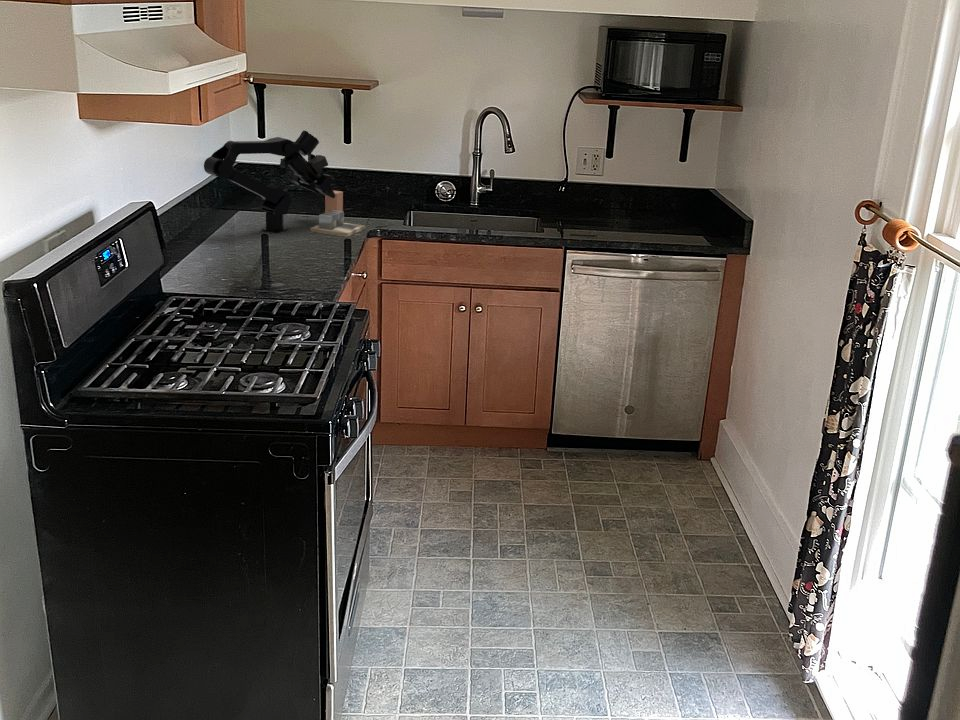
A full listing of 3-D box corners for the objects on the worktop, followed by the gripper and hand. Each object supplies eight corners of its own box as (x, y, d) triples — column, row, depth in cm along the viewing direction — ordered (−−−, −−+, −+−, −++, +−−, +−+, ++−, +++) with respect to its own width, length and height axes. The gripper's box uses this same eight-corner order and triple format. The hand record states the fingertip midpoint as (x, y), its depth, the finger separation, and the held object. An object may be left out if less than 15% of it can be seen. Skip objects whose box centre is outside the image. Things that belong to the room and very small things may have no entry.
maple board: (346, 236, 316) (347, 220, 314) (310, 231, 320) (310, 215, 318) (365, 229, 328) (365, 213, 326) (329, 223, 332) (330, 208, 330)
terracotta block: (336, 224, 332) (336, 193, 328) (325, 222, 334) (325, 192, 330) (342, 221, 336) (342, 191, 332) (331, 220, 338) (331, 190, 334)
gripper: (329, 152, 313) (355, 182, 325) (299, 144, 326) (325, 173, 337) (309, 177, 311) (337, 206, 322) (279, 168, 324) (307, 196, 335)
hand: (326, 194), depth 329 cm, fingers open, 9 cm apart
